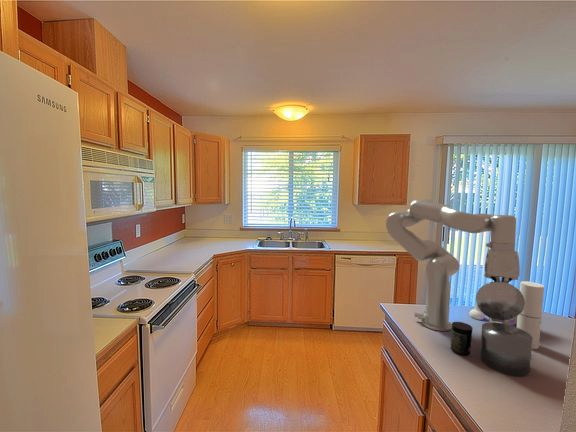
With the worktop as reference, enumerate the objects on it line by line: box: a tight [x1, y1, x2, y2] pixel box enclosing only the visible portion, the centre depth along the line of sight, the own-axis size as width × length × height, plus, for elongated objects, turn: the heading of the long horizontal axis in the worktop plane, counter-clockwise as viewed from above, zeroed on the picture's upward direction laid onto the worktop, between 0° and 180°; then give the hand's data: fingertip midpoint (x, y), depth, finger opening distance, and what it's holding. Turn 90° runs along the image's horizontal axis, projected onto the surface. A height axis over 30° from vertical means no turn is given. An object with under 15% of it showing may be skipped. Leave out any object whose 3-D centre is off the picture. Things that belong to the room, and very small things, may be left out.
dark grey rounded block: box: [479, 321, 533, 378], centre depth 98 cm, size 14×14×12 cm
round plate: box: [475, 280, 525, 322], centre depth 105 cm, size 16×15×3 cm
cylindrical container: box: [516, 280, 545, 350], centre depth 110 cm, size 7×7×25 cm
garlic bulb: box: [469, 302, 486, 321], centre depth 135 cm, size 6×6×8 cm
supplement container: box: [450, 321, 473, 357], centre depth 105 cm, size 7×7×10 cm
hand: (500, 293), depth 107 cm, fingers closed
